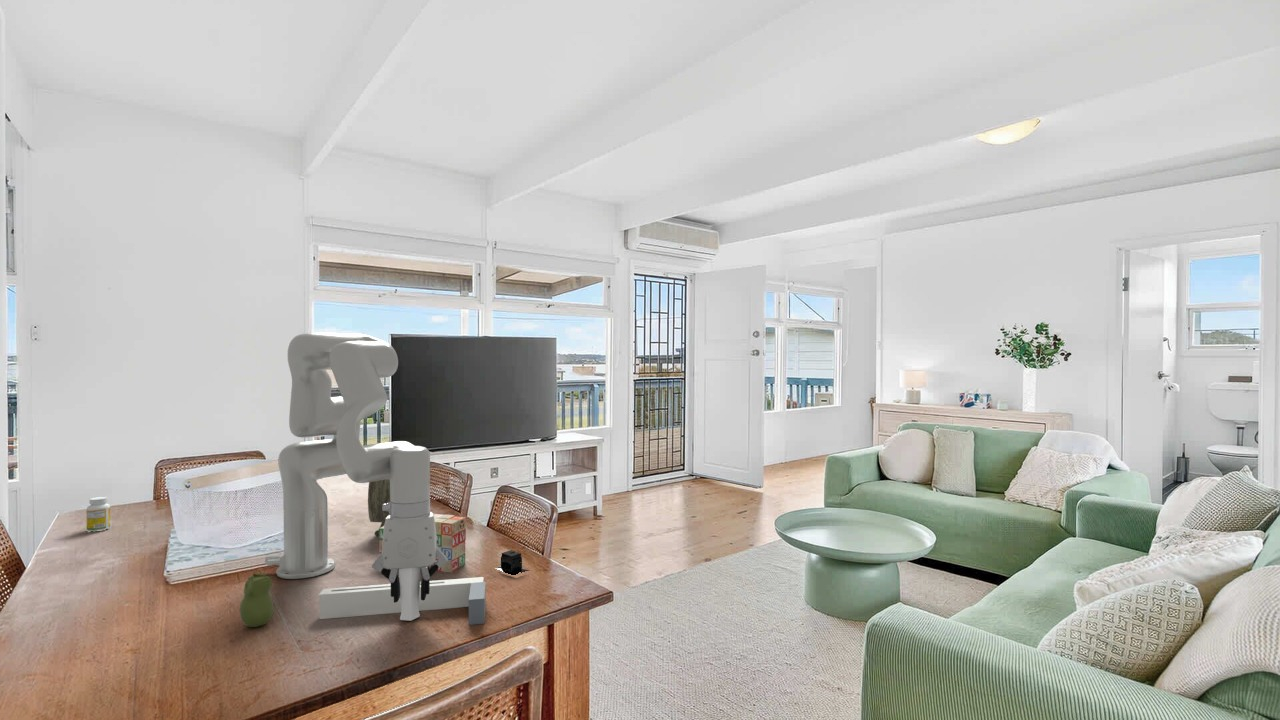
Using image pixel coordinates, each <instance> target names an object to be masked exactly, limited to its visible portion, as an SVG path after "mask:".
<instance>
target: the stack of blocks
mask: <svg viewBox="0 0 1280 720" xmlns="http://www.w3.org/2000/svg"><path fill="white" fill-rule="evenodd" d="M433 515H434V519H435V525H436V535H437V546H438V547H439V548H440V550H441V551H442V552H443V553H444V555H445V556H446V557H447V559H448V560H447V563H446V564H445V565H443V566H442V567H441V568H439V569H438V570H437V571H438V572H446V573H453V572H455V571H456V570H459V568H462V567H463V566H465V565H466V540H467V539H466V538H467V537H466V536H467V529H466V520H467V519H466V516H455V515H453V514H442V513H441V514H438V513H433ZM378 530H379V536H378V540H379V542H378V543H379V544H378V545H379V547H378V550H379V555H380V553H381V552H382V542H383V531H384V526H383V527H381V528H380V527H379V528H378ZM379 555H378V556H379ZM437 561H438V559H437V557H436V560H435V562H434V563H436V562H437ZM431 566H432V565H431ZM431 566H430V567H431ZM437 571H436V572H437Z"/></svg>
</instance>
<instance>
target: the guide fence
mask: <svg viewBox="0 0 1280 720" xmlns="http://www.w3.org/2000/svg"><path fill="white" fill-rule="evenodd" d="M484 580H485V579H484V576H479V577H466V578H465V577H464V578H463V577H462V578H455V579H454V578H452V579H439V580H437V579H436V580H430V591H429V594H426V598H425V600H421V581H420V591H419V604H418V609H419V612H420V611H421V612H422V611H431V610H432V611H433V610H445V609H457V608H458V609H459V608H466V607H467V608H468V625H469V626H472V625H482V624H483V625H485V618H486V606H487V605H486V603H487V602H486V600H487V599H486V596H487V595H486V593H487V590H486V588H487V587H486V584H487V583H486V581H484ZM401 612H402V609H401V596H400V598H399V600H398V602H395V603H394V597H391V583H387V584H386V583H385V584H373V585H372V584H371V585H360V586H345V587H343V586H342V587H331V588H323V589H322V590H321V591H320V592H319V594H318V619H319V620H326V619H338V618H339V619H340V618H349V617H362V616H375V615H386V614H387V615H388V614H399V613H400V614H401Z"/></svg>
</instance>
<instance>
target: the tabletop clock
mask: <svg viewBox="0 0 1280 720" xmlns="http://www.w3.org/2000/svg"><path fill="white" fill-rule="evenodd" d="M389 502H390V479H384V480H379V481H374V482H368V491H367V509H368V510H367V512H368V519H369V522H370V523H381V524H380V526H379V528H381V527H383V526H384V524H385V520H386V517H387V516H389V513H388V511H383V510H382V505H383V504H387V503H389ZM373 534H374V536H376V537H379V529H377V530H375V532H374V533H373Z"/></svg>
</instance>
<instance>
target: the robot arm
mask: <svg viewBox="0 0 1280 720" xmlns="http://www.w3.org/2000/svg"><path fill="white" fill-rule="evenodd" d="M287 362H288V368H289V371H290V375H291V392H290V400H289V401H290V405H289V416H288V419H289V421H288V424H289V426H288V427H289V429H290V430H289V431H290V433H291V434H292V435H293V436H294V437H297V438H302V439H307V438H317V437H318V438H319V437H328V436H330V437H331V436H333V438H325V439H316V440H315V439H314V440H306V441H299V442H293V443H291V444H289V445H286V446H285V447H284V448H283V449H281V451H280V452H279V455H278V469H279V474H280V478H281V485H282V496H283V497H282V501H283V505H282V506H283V553H280V554H278V555H276V554H272V555H266V556H265V558H264V562H265V564H266V565H267V566H278V567H277V569H276V576H277V577H279V578H281V579H286V580H299V579H308V578H313V577H317V576H320V575H323V574H326V573H328V572H331V571H332V570H333V569H334V568H335V565H336V562H335V559H333V558H330V557H329V543H328V542H329V533H328V532H329V529H328V527H329V526H328V523H329V522H328V521H329V520H328V518H329V517H328V516H329V515H328V510H329V509H328V496H327V495H328V494H327V493H326V491H325V490H324V489H323V487H321V486H320V484H319V483H318V480H322V479H325V478H332V477H337V476H343V475H347V477H348V478H349V479H350V480H351V481H352V482H354V483H356V484H366V483H368V484H369V482H374V481H379V480H384V479H390V502H389V503H387V504H383V505H382V510H383V511H388V513H389V516H387V517H386V520H385V524H384V531H383V542H382V552H381V553H380V552H379V554H380V555H378V556H377V557H376V558H375V560H374V561H373V562H372V565H371V568H372V569H374V570H375V571H377V572H379V573H380V575H382V576H383V577H385V579H387V581H388V582H389V584H391V597H394V603H395V602H398V600H399V598H400V582H399V569H406V568H420V567H421V575H422V576H421V579H420V582H421V600H425V598H426V594H429V591H430V581H431V580H430V579H431V578H432V576H433V575H435V573H436V572H437V570H438V569H439V568H441V567H442V566H443V565H445V564H446V563H447V560H448V559H447V557H446V556H445V555H444V553H443V552H442V551H441V550H440V548H439V547H438V546H437V535H436V525H435V519H434V515H433V514H434V513H433V512H432V511H431V455H430V451H429V449H428V448H427V447H425V446H421V445H415V444H413V443H411V442H409V441H406V440H396V441H391V442H389V441H388V442H379V443H371V444H365V445H362V443H361V441H360V432H361V431H360V430H361V421H363V420H364V419H366V418H368V417H370V416H372V415H374V414H375V413H377V412H378V411H380V410H381V409H382V408H383V407H384V406H385V405H386V403H387V402H388V395H387V392H386V390H385V388H384V385H383V381H382V380H381V378H390V377H392V376H393V375H394V374H395V373H396V372H397V370H398V366H399V358H398V354H397V352H396V350H395V349H394V347H393V345H391V344H390V343H388V342H387V341H385V340H382V339H380V338H376V337H373V336H371V335H367V334H364V333H363V334H362V333H340V332H339V333H338V332H308V333H301V334H297V335H296V336H294V337H292V339H291V340H290V342H289V345H288V348H287ZM327 370H331V371H332V373H333V377H334V380H335V383H336V385H337V387H338V390H339V393H340V396H332V388H333V387H332V386H333V382H332V378H331V376H330V374H329V373H328V371H327ZM436 557H437V559H438V561H437V562H436V563H434V562H435V560H436ZM431 565H432V566H431ZM430 566H431V567H430Z"/></svg>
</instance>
